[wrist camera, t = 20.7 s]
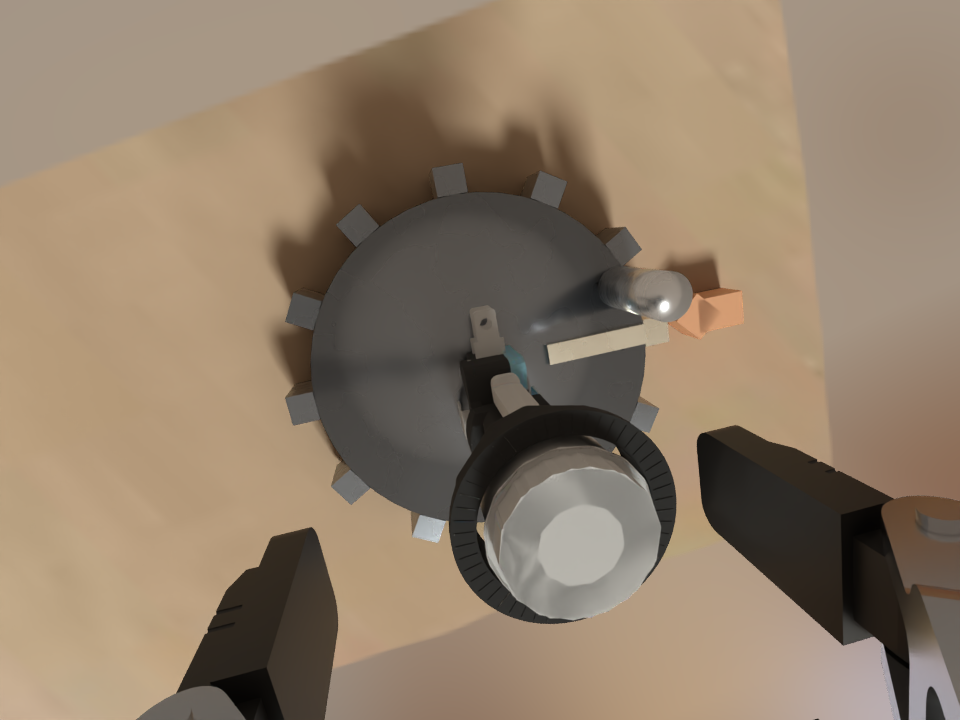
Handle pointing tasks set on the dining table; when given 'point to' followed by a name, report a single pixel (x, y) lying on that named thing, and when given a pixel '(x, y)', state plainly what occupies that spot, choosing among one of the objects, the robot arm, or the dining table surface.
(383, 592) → the dining table surface
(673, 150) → the dining table surface
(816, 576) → the robot arm
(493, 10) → the dining table surface
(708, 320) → the pointer block
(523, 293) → the sprocket wheel
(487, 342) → the push button
